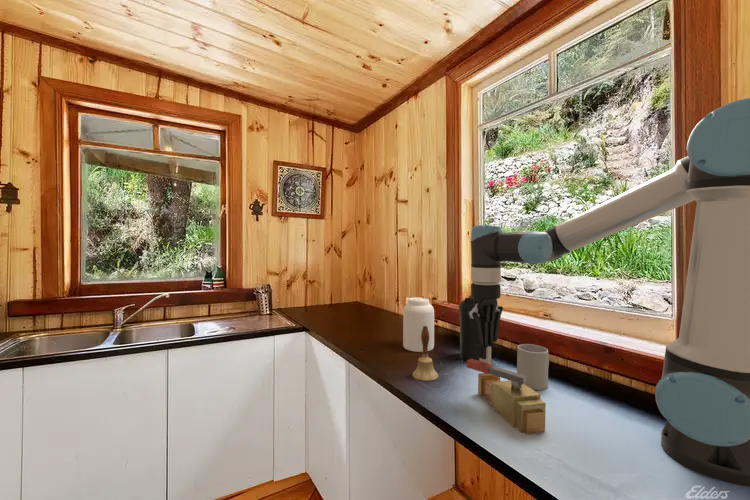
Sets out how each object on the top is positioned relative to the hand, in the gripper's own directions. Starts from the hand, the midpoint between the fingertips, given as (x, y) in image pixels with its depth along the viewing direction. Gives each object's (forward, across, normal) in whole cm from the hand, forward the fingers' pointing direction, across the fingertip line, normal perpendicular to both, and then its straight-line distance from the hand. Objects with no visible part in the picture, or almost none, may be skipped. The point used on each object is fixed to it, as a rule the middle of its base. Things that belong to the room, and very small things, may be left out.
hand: (485, 369), depth 89 cm
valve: (+8, 0, +7) cm, 11 cm away
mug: (+9, -22, +2) cm, 24 cm away
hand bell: (+9, +2, -21) cm, 23 cm away
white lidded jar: (+9, -16, -43) cm, 47 cm away
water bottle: (+9, -22, -21) cm, 32 cm away
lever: (+1, +2, +4) cm, 5 cm away
